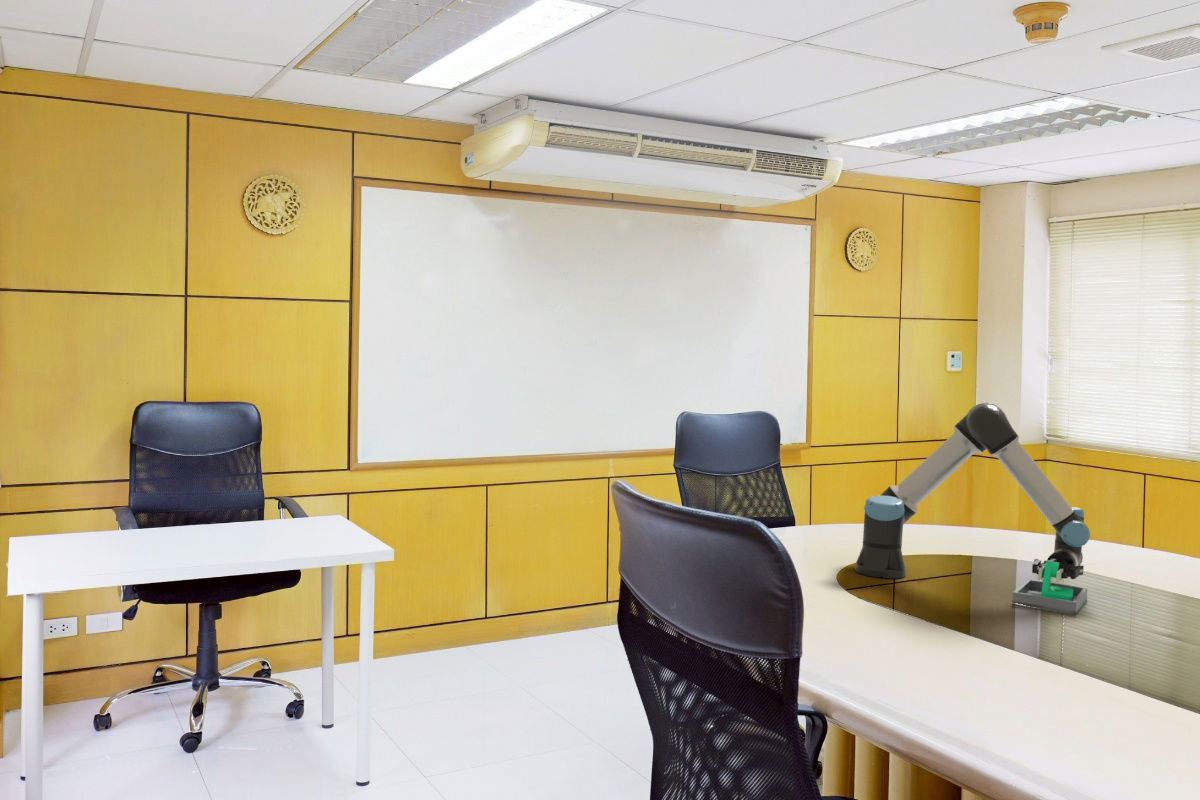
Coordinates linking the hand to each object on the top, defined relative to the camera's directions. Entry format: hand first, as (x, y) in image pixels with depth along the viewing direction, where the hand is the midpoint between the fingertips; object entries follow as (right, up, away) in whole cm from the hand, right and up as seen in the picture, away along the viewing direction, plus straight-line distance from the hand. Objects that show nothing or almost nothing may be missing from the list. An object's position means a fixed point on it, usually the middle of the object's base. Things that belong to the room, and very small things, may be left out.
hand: (1048, 575), depth 275 cm
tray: (+3, -8, +5) cm, 10 cm away
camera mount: (+3, -7, +3) cm, 8 cm away
